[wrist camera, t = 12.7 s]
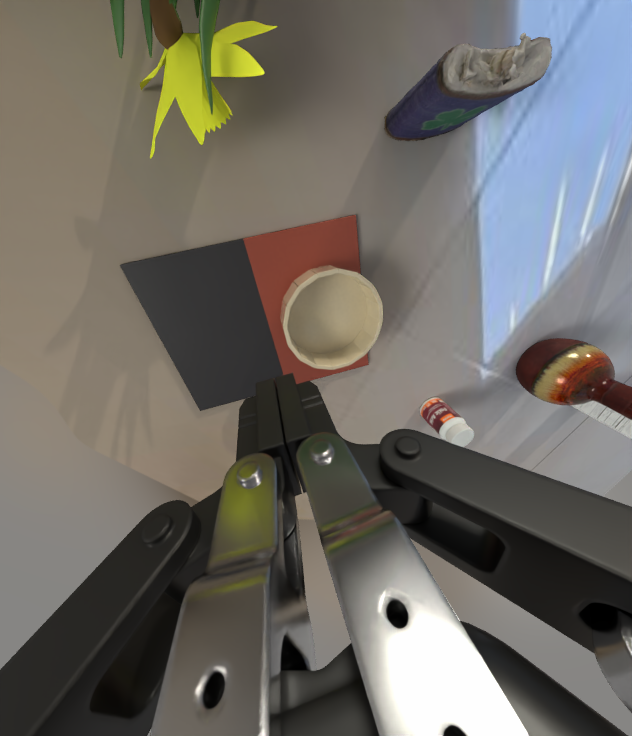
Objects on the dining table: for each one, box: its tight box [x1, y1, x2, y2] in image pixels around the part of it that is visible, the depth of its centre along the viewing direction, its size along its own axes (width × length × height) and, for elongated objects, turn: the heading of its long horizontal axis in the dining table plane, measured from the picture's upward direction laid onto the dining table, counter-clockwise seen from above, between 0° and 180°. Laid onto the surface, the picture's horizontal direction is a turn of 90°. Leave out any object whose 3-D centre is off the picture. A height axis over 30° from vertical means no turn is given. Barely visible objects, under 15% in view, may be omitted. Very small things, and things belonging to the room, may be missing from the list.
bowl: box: [280, 265, 383, 370], centre depth 30 cm, size 12×12×4 cm
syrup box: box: [570, 401, 632, 439], centre depth 48 cm, size 6×6×14 cm
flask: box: [384, 33, 552, 141], centre depth 21 cm, size 9×3×11 cm, turn 100°
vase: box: [516, 338, 632, 420], centre depth 39 cm, size 11×11×15 cm
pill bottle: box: [420, 397, 474, 447], centre depth 42 cm, size 5×5×8 cm
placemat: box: [120, 215, 368, 411], centre depth 31 cm, size 26×20×1 cm
